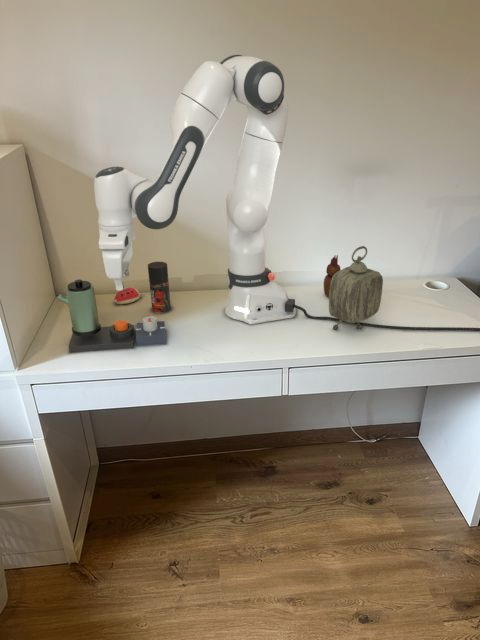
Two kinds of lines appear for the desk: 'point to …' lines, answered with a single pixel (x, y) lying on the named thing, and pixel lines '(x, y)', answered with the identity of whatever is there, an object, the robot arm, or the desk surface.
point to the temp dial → (149, 323)
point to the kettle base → (103, 340)
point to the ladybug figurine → (127, 296)
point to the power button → (121, 325)
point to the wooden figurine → (330, 274)
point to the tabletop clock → (355, 292)
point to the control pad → (150, 335)
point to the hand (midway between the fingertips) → (123, 282)
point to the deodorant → (159, 287)
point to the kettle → (82, 308)
